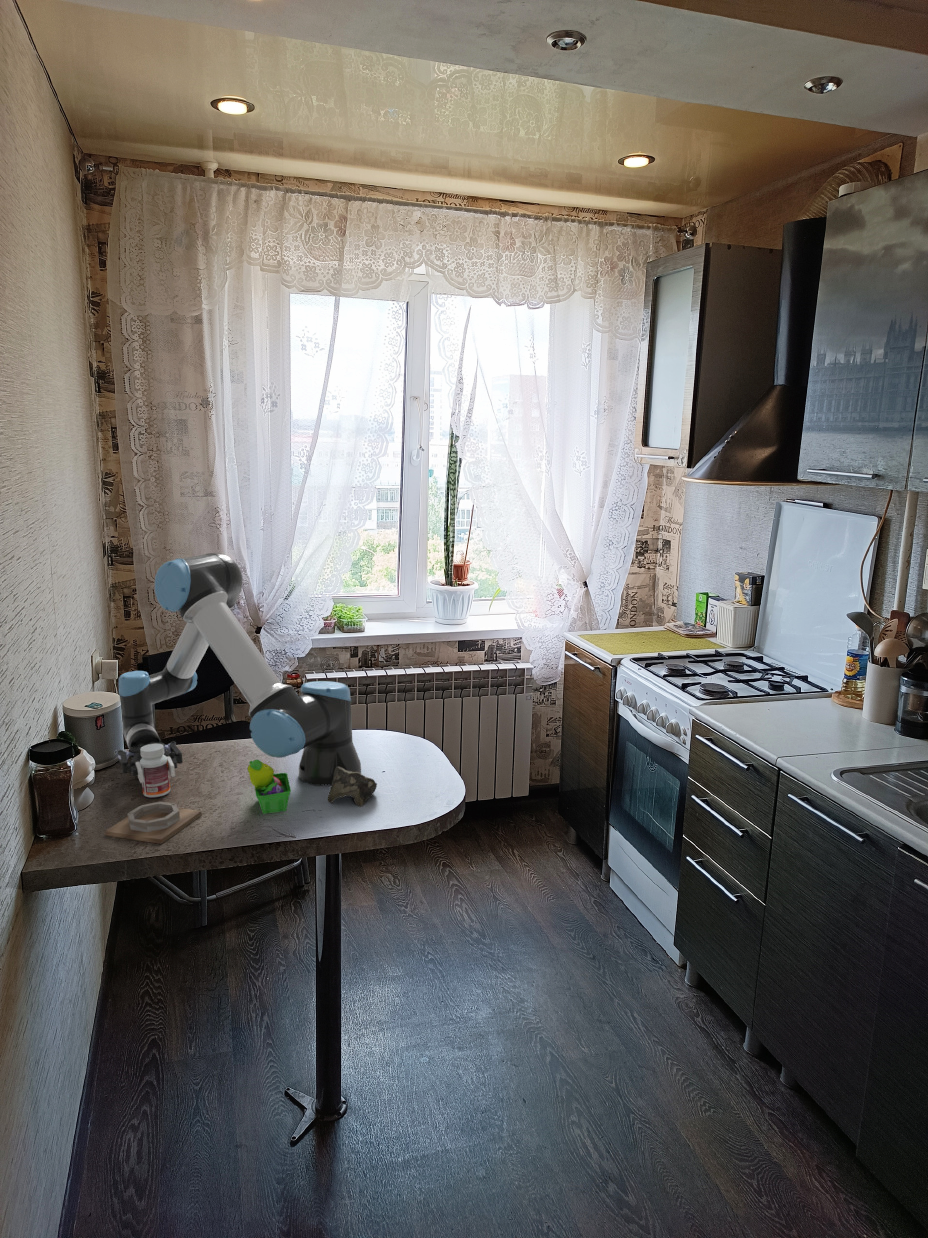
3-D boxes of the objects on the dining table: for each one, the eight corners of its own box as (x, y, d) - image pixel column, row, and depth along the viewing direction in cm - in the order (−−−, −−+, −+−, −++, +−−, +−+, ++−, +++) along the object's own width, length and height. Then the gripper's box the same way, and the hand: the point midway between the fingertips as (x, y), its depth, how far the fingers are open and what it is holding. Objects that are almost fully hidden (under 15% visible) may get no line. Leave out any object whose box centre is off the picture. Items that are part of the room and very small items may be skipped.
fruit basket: (292, 812, 190) (289, 765, 187) (251, 818, 187) (248, 770, 185) (288, 792, 201) (285, 747, 198) (249, 797, 198) (245, 751, 196)
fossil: (382, 786, 202) (377, 758, 195) (374, 818, 195) (369, 790, 188) (337, 783, 203) (331, 755, 196) (328, 815, 196) (321, 787, 190)
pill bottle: (176, 791, 201) (171, 746, 199) (152, 800, 197) (148, 754, 194) (160, 785, 205) (156, 740, 203) (137, 794, 200) (132, 748, 198)
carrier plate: (201, 815, 189) (200, 802, 189) (161, 844, 176) (160, 830, 176) (148, 808, 193) (147, 795, 193) (105, 835, 180) (103, 822, 180)
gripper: (184, 750, 220) (201, 781, 200) (104, 764, 212) (114, 798, 191) (182, 722, 219) (199, 750, 198) (101, 735, 210) (110, 766, 190)
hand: (157, 774), depth 195 cm, fingers closed on pill bottle, 6 cm apart
